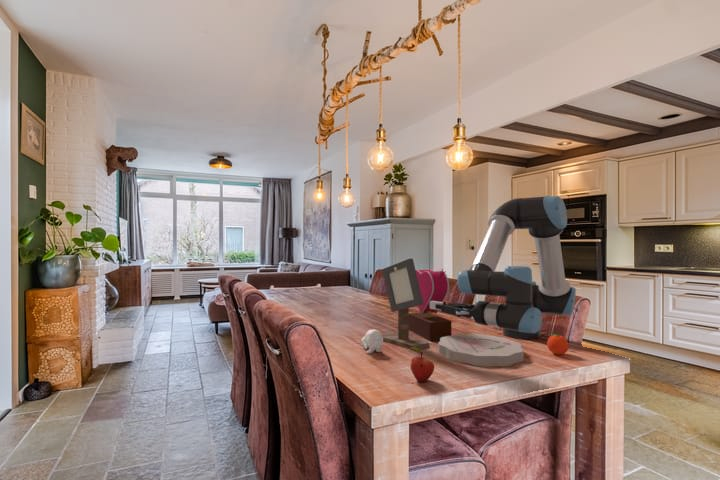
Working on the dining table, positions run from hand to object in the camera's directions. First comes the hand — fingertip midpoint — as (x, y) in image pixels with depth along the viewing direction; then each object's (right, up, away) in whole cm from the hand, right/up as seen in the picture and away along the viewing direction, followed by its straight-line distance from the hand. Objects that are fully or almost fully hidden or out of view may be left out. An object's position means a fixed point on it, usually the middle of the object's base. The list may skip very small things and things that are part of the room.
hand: (431, 304), depth 139 cm
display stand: (-9, -18, +15) cm, 25 cm away
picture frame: (-8, -3, +10) cm, 13 cm away
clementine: (+46, -18, -1) cm, 49 cm away
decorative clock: (+5, -18, +28) cm, 33 cm away
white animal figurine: (-22, -18, +4) cm, 29 cm away
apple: (-8, -18, -27) cm, 34 cm away
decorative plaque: (+18, -18, +1) cm, 26 cm away
